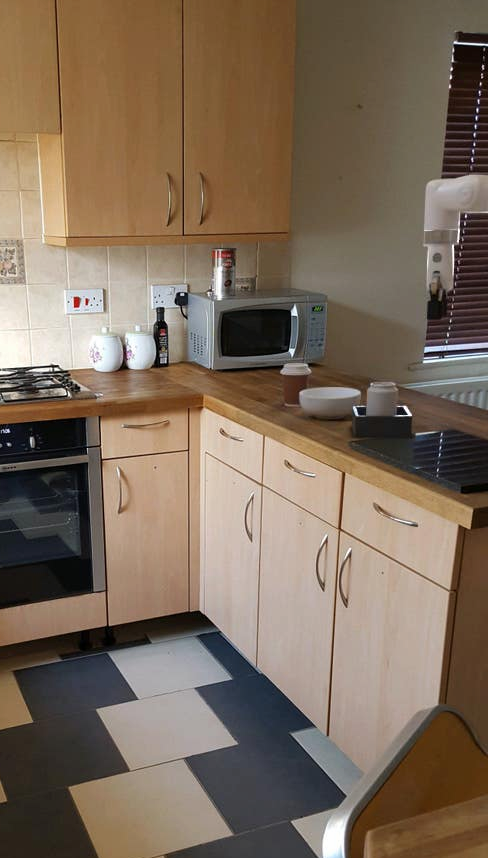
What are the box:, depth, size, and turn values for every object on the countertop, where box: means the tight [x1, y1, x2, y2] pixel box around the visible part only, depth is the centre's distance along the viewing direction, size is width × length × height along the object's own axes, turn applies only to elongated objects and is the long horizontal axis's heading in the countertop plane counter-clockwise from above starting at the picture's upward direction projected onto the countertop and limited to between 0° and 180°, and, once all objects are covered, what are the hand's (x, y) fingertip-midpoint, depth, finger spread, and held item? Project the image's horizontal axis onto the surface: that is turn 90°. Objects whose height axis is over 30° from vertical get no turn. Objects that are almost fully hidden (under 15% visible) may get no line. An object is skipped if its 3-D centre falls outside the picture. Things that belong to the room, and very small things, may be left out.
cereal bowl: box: [299, 386, 362, 420], centre depth 243 cm, size 17×17×7 cm
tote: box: [350, 405, 413, 439], centre depth 222 cm, size 14×14×6 cm
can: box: [366, 381, 399, 416], centre depth 221 cm, size 8×8×12 cm
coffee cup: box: [280, 362, 312, 407], centre depth 261 cm, size 9×9×12 cm
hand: (436, 318), depth 200 cm, fingers open, 9 cm apart
